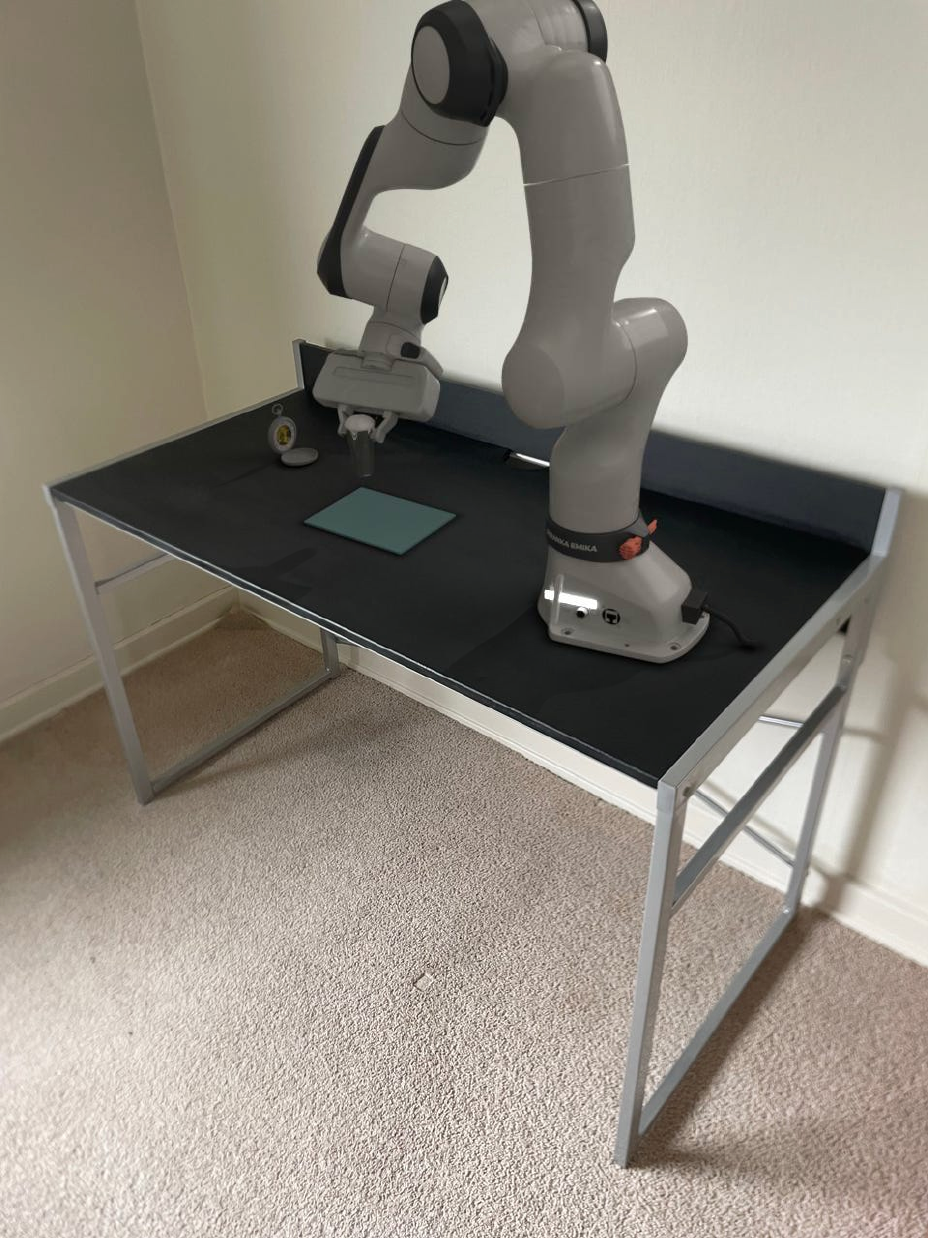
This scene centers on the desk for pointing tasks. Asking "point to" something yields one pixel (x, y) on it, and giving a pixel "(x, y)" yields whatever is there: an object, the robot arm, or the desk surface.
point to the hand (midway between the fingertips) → (360, 438)
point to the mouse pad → (380, 520)
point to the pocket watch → (288, 442)
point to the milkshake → (361, 443)
